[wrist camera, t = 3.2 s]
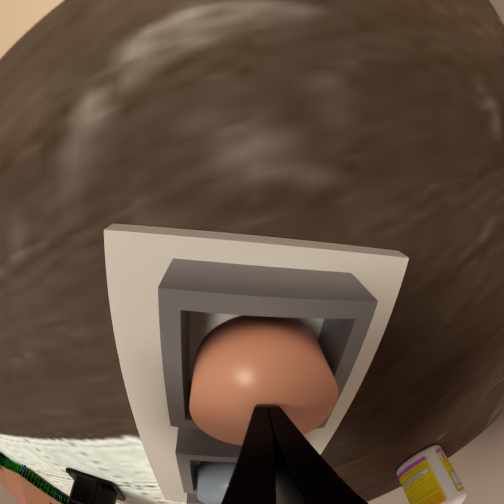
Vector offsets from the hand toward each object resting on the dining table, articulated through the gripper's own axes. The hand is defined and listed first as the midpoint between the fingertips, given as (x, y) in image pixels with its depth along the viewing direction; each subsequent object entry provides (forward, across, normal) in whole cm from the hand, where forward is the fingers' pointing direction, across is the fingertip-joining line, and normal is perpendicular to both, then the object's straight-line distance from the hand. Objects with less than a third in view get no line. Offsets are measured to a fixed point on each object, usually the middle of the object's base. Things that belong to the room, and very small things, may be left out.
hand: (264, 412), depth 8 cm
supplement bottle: (+5, -24, +22) cm, 33 cm away
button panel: (+5, 0, +10) cm, 11 cm away
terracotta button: (+2, 0, 0) cm, 2 cm away
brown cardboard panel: (+6, +37, +52) cm, 64 cm away
